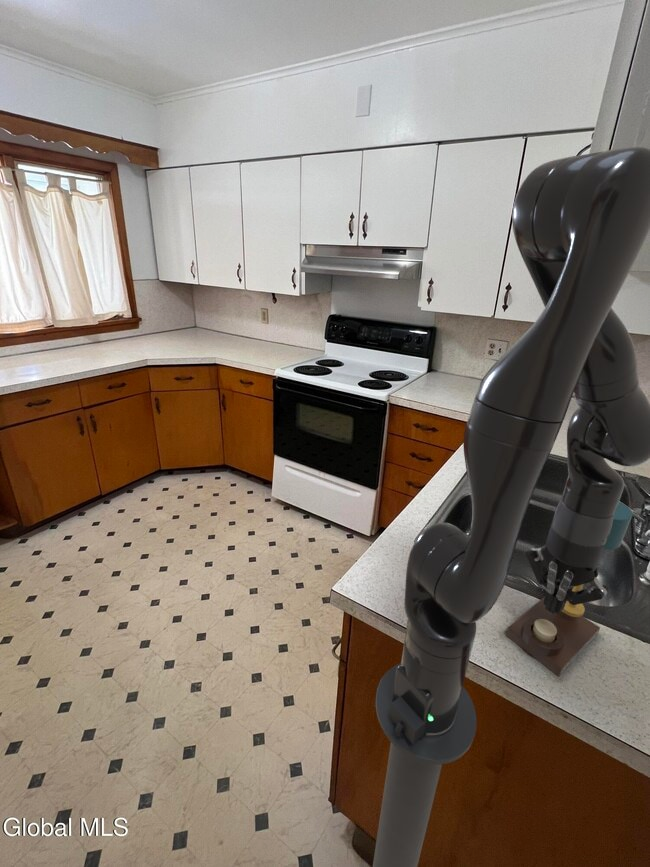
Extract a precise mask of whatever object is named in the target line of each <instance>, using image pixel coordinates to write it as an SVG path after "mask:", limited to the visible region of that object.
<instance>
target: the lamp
mask: <svg viewBox="0 0 650 867" xmlns="http://www.w3.org/2000/svg"><path fill="white" fill-rule="evenodd" d="M633 516H634V514H633V511H632V509H631V508H630V507H629V506H628V505H626V504H625V503H624V502H622V501H619V503H618V506H617V509H616V511H615V514H614V518H613V524H612V528H611V531H610V535H609V538H608V539H607V541H606V544H605V547H604V549H603V550H616V549H618V548H620V547H621V545H622V544H623V540H624V538H625V536H626V533H627V531H628V528H629V525H630V523H631V520H632V518H633ZM584 586H585V584H582V585H579V586H574V587H573V590H572V591H574V592H576V591H580V590H584ZM585 610H586V607H585V606H584V603H581V604H577V605H571V604H570V603H569V602H568V601H566V604H565V607H564V609H563V610H562V611H563V612H564V613H565V614H567V615H569V616H572V617H581V616H584V614H585V612H586V611H585Z"/></svg>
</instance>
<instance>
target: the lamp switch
mask: <svg viewBox="0 0 650 867" xmlns="http://www.w3.org/2000/svg"><path fill="white" fill-rule="evenodd" d="M532 631H533V634H534V636H535V637H536V638H538V639H539V640H540V641H543V642H546V643H551V642H553V641H554V639H555V636H556V634H557V629H556V627H555V626H554V625H553V624H552V623H551V622H550V621H548V620H545V619H538V620H536V621H535V623H534V626H533V629H532Z"/></svg>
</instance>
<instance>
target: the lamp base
mask: <svg viewBox="0 0 650 867" xmlns="http://www.w3.org/2000/svg"><path fill="white" fill-rule="evenodd" d="M544 598H545V596H544V597H542V598H541V599H540V600H539V601H537V603H535V604H534V605H533V606H532V607H531V608H529V609H528V610H527V611H526V612H524V613H523V614H522V615H521V616H520V617H519V618H517V619H516V620H515V621H514V622H512V623H511V624H510V625H509V626H508V627H507V630H506V634H505V635H506V637H507V638H508V639H510V640H511V641H512V642H514V643H515V644H517V645H518V646H519V647H520V648H521V649H522V650H524V651H525V652H527V653H528V654H529V655H530V656H532V657H533V658H534V659H535V660H537V662H540V664H542V665H543V666H544V667H545V668H547V669H548V670H550V671H551V672H552V673H553V674H555V675H556V676H557V677H560V676H562V674H563V673H564V672H565V671H567V669H568V667H570V665H571V664H572V663H574V661H575V660H576V659H577V658H578V657H579V656H580V655H581V654H582V653H583V651H584V650H585V649H586V648H587V647H588V646H589V645H590V644H592V642H593V641H594V640H595V638H597V636H598V634H599V632H600V630H601V627H600V626H598V625H597V624H595V623H594V622H592V621H591V620H589V619H588V618H586V617H585V616H584V615H582V616H581V617H572V616H569V615H567V614H565V613H564V612H563V611H561V612H560V613H558V614H557V613H555V614H552V613H551V612H549V611H548V610H546V609H545V607H546V606H545V605H544V602H543V601H544ZM538 619H545V620H548V621H550V622H551V623H552V624H553V625H554V626H555V627H556V629H557V634H556V636H555V639H554V641H553V642H551V643H546V642H543V641H540V640H539V639H538V638H536V637H535V636H534V634H533V631H532V629H533V626H534V623H535V621H536V620H538Z"/></svg>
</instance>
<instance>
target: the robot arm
mask: <svg viewBox="0 0 650 867" xmlns="http://www.w3.org/2000/svg"><path fill="white" fill-rule="evenodd" d="M511 217H512V218H511V220H512V222H511V224H512V233H513V236H514V239H515V243H516V246H517V248H518V251H519V253H520V257H521V258H522V260H523V263H524V265H525V267H526V269H527V271H528V273H529V275H530V278H531V279H532V281H533V284H534V286H535V288H536V290H537V293H538V295H539V297H540V300H541V301H542V304H543V306H544V309H543V310H542V312H541V313H540V315H539V316H538V317H537V319H536V320H535V322H533V324H532V325H531V326H530V327H529V329H528V330H527V331H526V332H525V333H524V334H523V335H522V336H521V337H519V339H518V340H517V341H515V342H514V344H512V346H510V347H509V348H508V349H507V350H506V351H505V352H504V353H503V354H502V355H501V357H499V358H498V360H496V361H495V363H494V364H493V365H492V366H491V367H490V369H488V370H487V372H486V374H485V375H484V376H483V377H482V378H481V380H480V382H479V385H478V387H477V390H476V393H475V397H474V399H473V402H472V405H471V409H470V411H469V415H468V418H467V422H466V424H465V428H464V432H463V442H462V445H463V457H464V464H465V471H466V476H467V481H468V487H469V492H470V499H471V508H472V509H471V510H472V511H471V512H472V513H471V515H472V516H471V524H470V531H469V534H467V533H466V532H465V531H463V530H462V529H461V528H460V527H458V526H457V525H455V524H452V523H450V522H439V523H435V524H432V525H430V526H429V527H427V528H426V529H424V530H423V531H422V532H421V533H420V534H419V535H418V537H417V538H416V540H415V541H414V543H413V545H412V546H411V547H412V548H411V549H410V552H409V555H408V558H407V563H406V570H405V584H404V596H403V597H404V598H403V606H404V607H403V608H404V612H405V615H406V617H407V621H406V628H405V634H404V641H403V646H402V647H403V648H402V655H401V661H400V664H401V665H400V666H398V667H397V670H396V678H395V685H394V692H393V699H392V704H391V711H390V717H391V719H392V720H393V721H394V722H395V723H396V725H397V727H396V730H395V734H396V736H397V737H405V736H406V737H407V738H408V739H409V740H410V741H411V743H412V744H413V743H415V742H416V741H417V740H418V739H419V740H422V739H423V738H424V737H438V736H442V735H444V734H446V733H447V732H448V731H450V729H451V728H452V727H453V725H454V723H455V719H456V715H457V708H458V704H459V700H460V696H461V692H462V688H463V687H464V684H465V679H466V676H467V671H468V666H469V662H470V659H471V655H472V651H473V647H474V643H475V640H476V639H475V638H476V634H477V622H478V621H479V620H481V619H482V618H484V617H485V616H486V615H487V614H488V613H489V612H490V611H491V610H492V608H493V607H494V605H495V604H496V602H497V601H498V599H499V598H500V595H501V594H502V591H503V589H504V587H505V584H506V581H507V578H508V576H509V575H508V574H509V571H510V568H511V564H512V561H513V558H514V554H515V550H516V547H517V544H518V539H519V536H520V533H521V529H522V526H523V522H524V519H525V517H526V516H525V515H526V513H527V510H528V508H529V505H530V503H531V501H532V497H533V494H534V492H535V490H536V487H537V485H538V482H539V480H540V477H541V475H542V472H543V471H544V468H545V465H546V464H547V461H548V459H549V457H550V455H551V452H552V450H553V447H554V445H555V442H556V441H557V438H558V435H559V433H560V430H561V427H562V425H563V423H564V421H565V418H566V415H567V412H568V409H569V406H570V404H571V401H572V398H574V401H575V403H576V404H577V405H578V408H577V409H576V410H575V411H574V412H573V414H572V415H571V416H570V419H569V422H568V424H567V431H566V453H567V454H566V455H567V456H566V457H567V459H566V460H567V462H566V463H567V477H566V481H565V484H564V487H563V491H562V494H561V497H560V500H559V501H558V504H557V506H556V508H555V510H554V514H553V518H552V521H551V524H550V527H549V531H548V534H547V538H546V540H545V544H544V545H543V546H541V547H539V546H538V545H533V546H532V547H531V548H529V549H528V550H526V552H525V557H526V558H527V561H528V562H529V565H530V568H531V570H532V572H533V575H534V577H535V579H536V582H537V583H538V585H541V586H544V588H545V595H544V597H545V598H544V597H543V598H544V601H543V602H544V605H545V606H546V607H545V609H546V610H548V611H549V612H551V613H552V614H555V613H557V614H558V613H560V612H561V611H562V610H563V609H564V607H565V604H566V601H568V602H569V603H570V604H571V605H577V604H581V603H582V604H586V603H592V602H595V601H600V600H603V598H604V597H605V596H606V595H607V594H608V593H609V592H610V589H609V587H608V586H607V585H605V584H602V583H601V582H600V580H599V579H598V576H599V570H598V565H599V563H600V560H601V557H602V555H603V552H604V550H605V549H604V547H605V544H606V541H607V539H608V538H609V535H610V531H611V528H612V524H613V518H614V514H615V511H616V509H617V506H618V503H619V502H620V501H621V498H622V494H623V492H624V489H625V481H624V479H623V477H622V476H621V475H620V474H619V472H617V471H616V470H615V469H614V468H613V467H612V466H610V464H608V462H607V461H606V460H608V461H610V462H611V463H614V464H616V465H619V466H623V467H635V466H639V465H642V464H644V463H646V462H647V461H649V460H650V402H649V400H648V397H647V396H646V394H645V392H644V391H643V389H642V388H641V386H640V382H639V371H638V362H637V361H638V360H637V352H636V347H635V344H634V341H633V338H632V336H631V334H630V332H629V331H628V329H627V327H626V325H625V324H624V322H623V321H622V320H621V318H620V317H619V316H618V314H617V313H616V311H614V309H613V305H614V303H615V301H616V299H617V297H618V295H619V293H620V291H621V289H622V288H623V286H624V284H625V281H626V280H627V278H628V276H629V274H630V271H631V270H632V268H633V266H634V265H635V262H636V260H637V258H638V256H639V255H640V252H641V250H642V248H643V246H644V244H645V241H646V239H647V238H648V235H649V233H650V148H648V147H646V146H631V147H630V146H629V147H622V148H621V147H620V148H614V149H606V150H605V151H604V150H603V151H598V152H592V153H586V154H579V155H572V156H571V155H570V156H567V157H561V158H558V159H552V160H550V161H546V162H544V163H542V164H540V165H538V166H537V167H535V168H534V169H533V170H531V172H529V174H527V176H526V177H525V178H524V180H523V181H522V182H521V185H520V187H519V189H518V190H517V193H516V195H515V199H514V202H513V207H512V215H511ZM582 584H584V585H585V584H588V586H587V587H586V588H585V589H584V588H583V589H582V590H580V591H576V592H574V591H572V590H573V587H574V586H579V585H582Z"/></svg>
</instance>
